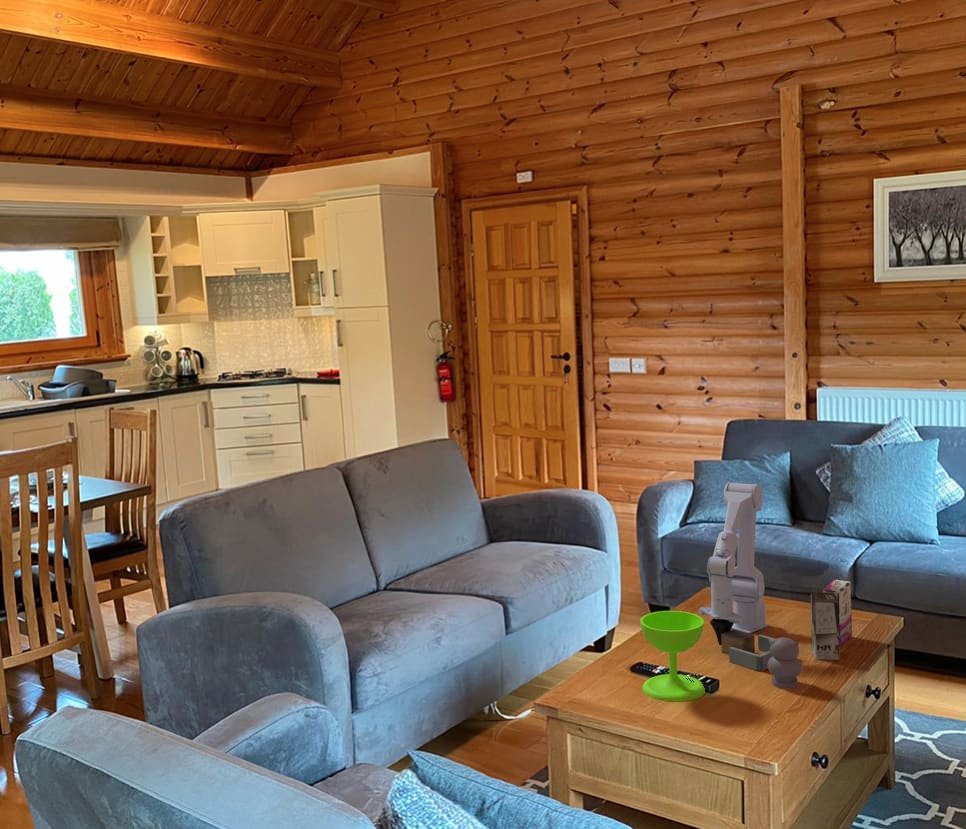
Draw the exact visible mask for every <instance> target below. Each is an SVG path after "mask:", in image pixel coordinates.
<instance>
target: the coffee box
mask: <svg viewBox="0 0 966 829" xmlns="http://www.w3.org/2000/svg"><path fill="white" fill-rule="evenodd" d="M810 619H811V620H810V623H811V624H810V627H811V636H810V637H811V650H812V652H813V655H814V658H815V659H816V660H825V661H826V660H828V661H830V660H832V661H840V648H839V601H838V599H837V598H836V596H835V594H834V593H822V592H810ZM836 659H838V660H836Z"/></svg>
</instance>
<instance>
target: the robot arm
mask: <svg viewBox="0 0 966 829" xmlns="http://www.w3.org/2000/svg"><path fill="white" fill-rule="evenodd" d="M723 499H724V504H725V505H726V507H727V508H726V513H725V514H726V515H725V520H724V525H723V531H721V532H719V533H718V536H717V539H716V542H715V547H714V550H713V554H712V556H709V558H708V560H707V566H706V571H707V574H708V581H709V582H710V596H711V598H710V599H711V600H710V601H711V602H710V603H711V607H707V606H702V607H699V608H698V609H699V611H698V612H699V616H708V617H710V618H711V620H710V621H709V624H710V625H711V628H712V629H713V631H714V633H715V635H716V639H717V643H718V645H719V646H722V638H721V634H723V633H725V632H727V631H730V630H732V629H735V630H739V631H742V632H746V633H749V634H752V633H754V632H756V631H760V630H762V629H765V628H766V627H768V626H769V624H768V623H766V618H767V617H766V603H765V601H764V599H763V597H764V594H765V587H766V586H765V580H764V574H763V573H762V571H761V570H759V569H758V568H756V566H755V556H756V555H755V552H756V550H755V549H756V529H757V528H756V522H757V520H756V519H757V513H758V512H760V511H762V509H763V508H762V507H763V489H762V487H761V485H760V484H759V483H754V484H753V483H739V482H731V481H729V482H727V483H726V484H725V486H724V490H723ZM737 533H738V536H737ZM736 551H737V562H736V557H735V556H736ZM736 563H737V565H736Z"/></svg>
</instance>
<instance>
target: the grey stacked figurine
mask: <svg viewBox="0 0 966 829" xmlns="http://www.w3.org/2000/svg"><path fill="white" fill-rule="evenodd" d="M772 638H773V637H771V638H768V639H769V642H770V644H771V646H770V652H771V654H772V655H773V656H772V657H771V658H770V659H769V661H768V669H767V670H768V671H769V673H770V674H771V675H772V677H771V685H772V686H773V687H776V688H778V689H783V690H784V689H785V690H788V689H794V688H797V687H798V678H797V677H798V676H800V675H801V673H802V671H803V663H802V662H801V660H800V659H799V658H798V657H799V653H800V647H799V643H800V642H797V641H794V639H791V638H789V637H779V638H778V637H777V638H775V639H772Z"/></svg>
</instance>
